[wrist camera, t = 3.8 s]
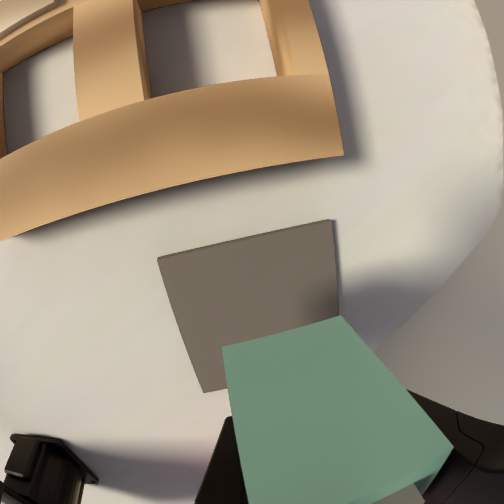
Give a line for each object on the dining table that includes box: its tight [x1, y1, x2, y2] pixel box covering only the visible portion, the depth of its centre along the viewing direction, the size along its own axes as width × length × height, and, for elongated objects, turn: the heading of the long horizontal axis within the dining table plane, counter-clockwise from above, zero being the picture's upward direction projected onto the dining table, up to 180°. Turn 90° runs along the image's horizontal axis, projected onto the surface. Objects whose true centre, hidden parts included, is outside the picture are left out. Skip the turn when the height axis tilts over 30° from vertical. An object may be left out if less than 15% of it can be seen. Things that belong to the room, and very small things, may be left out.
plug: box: [222, 315, 454, 504], centre depth 7 cm, size 4×4×7 cm
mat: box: [157, 219, 339, 393], centre depth 14 cm, size 8×8×1 cm
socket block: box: [0, 0, 344, 241], centre depth 9 cm, size 12×16×3 cm
